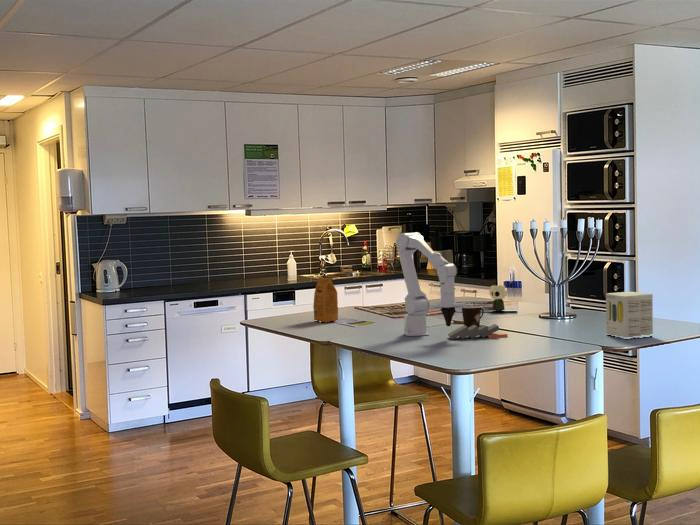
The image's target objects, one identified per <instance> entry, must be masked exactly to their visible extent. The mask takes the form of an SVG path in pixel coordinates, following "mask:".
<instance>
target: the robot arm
mask: <svg viewBox="0 0 700 525" xmlns="http://www.w3.org/2000/svg"><path fill="white" fill-rule="evenodd" d="M395 242H396V246H397V250H398V258H399V262H400V265H401V270H402V273H403V277H404V281H405V286H406V288H407V295H406V296H405V297H404V307H405V308H404V309H405V311H406V312H407V314H404V316H403V320H404V321H403V328H404V329H403V330H404V335H405V336H406V337H414V336H415V337H417V336H430V334H429V333H428V331H427V314H428V311H429V310H440V312H441V313H442V316H443V318H444V321H445V325H446V327H452V326H451V325H452V324H451V323H452V320H453V316H454V314H455V312H456V309H462V308H466V306H467V304H466V303H465V302H455V300H456V299H455V297H456V295H455V292H456V291H455V277H456V276H457V274H458V269H457V266H456V265H455V264H454V263H451V262H449V261H448V260H446V259H445V257H443V256H442V253H440V252H438V251H437V252H436V251H433V249H432V248H431V247H430V246H429V245H428V243H427V242H426V241H425V240H424V236H423V235H421V233H420V232H418V231H415V232H401V233H399V234H398V235H397V238H396V240H395ZM417 250H418V251H420V252H421V254H423V255H424V256H425V257H426V258H427V261H428V263H429V264H430V266H432V267H433V268H434V270H435V271H436V274H437V277H438V280H439V283H440V284H439V285H440V287H439V288H440V303H432V304H431V303H430V300H429V299H428V297H427V294H426V293H425V292H423V291H422V290H421V287H420V282H419V278H418V276H417V275H418V274H417V271H416V267H415V263H414V259H413V258H414V257H413V254H414V253H415V252H416V251H417Z"/></svg>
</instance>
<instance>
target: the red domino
mask: <svg viewBox="0 0 700 525" xmlns="http://www.w3.org/2000/svg"><path fill="white" fill-rule="evenodd" d="M485 338H488V339H495V338H501V339H502V338H508V333H506V332H505V331H504V332H494V333H492V334H490V335H488V336H486V337H485Z"/></svg>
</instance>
